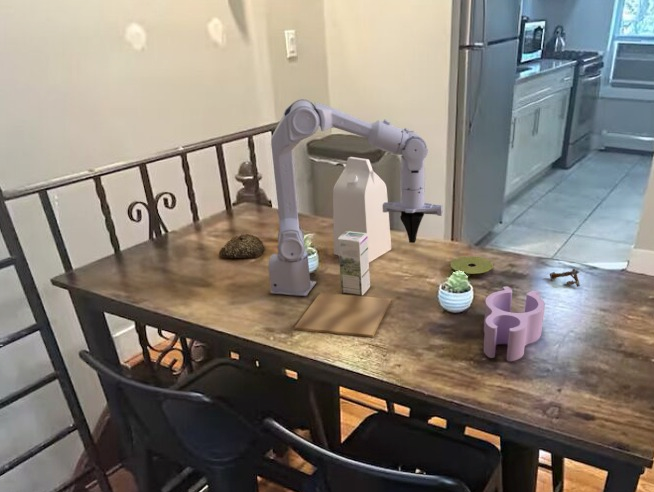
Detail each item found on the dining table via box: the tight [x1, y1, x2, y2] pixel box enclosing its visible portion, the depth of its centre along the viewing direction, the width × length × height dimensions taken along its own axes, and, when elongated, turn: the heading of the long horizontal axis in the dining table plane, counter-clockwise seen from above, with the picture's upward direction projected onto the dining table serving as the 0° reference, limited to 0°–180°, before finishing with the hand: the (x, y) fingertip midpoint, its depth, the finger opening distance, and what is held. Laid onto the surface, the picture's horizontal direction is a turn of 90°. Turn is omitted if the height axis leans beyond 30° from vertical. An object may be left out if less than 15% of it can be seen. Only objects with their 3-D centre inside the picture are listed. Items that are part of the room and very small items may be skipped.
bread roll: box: [218, 233, 265, 259], centre depth 171 cm, size 13×12×5 cm
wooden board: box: [293, 292, 392, 338], centre depth 139 cm, size 18×18×1 cm
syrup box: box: [338, 231, 371, 296], centre depth 146 cm, size 6×6×14 cm
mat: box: [450, 256, 494, 275], centre depth 158 cm, size 11×11×2 cm
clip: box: [483, 285, 546, 362], centre depth 127 cm, size 20×12×7 cm, turn 160°
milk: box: [332, 156, 392, 263], centre depth 164 cm, size 12×12×26 cm
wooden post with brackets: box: [549, 268, 581, 288], centre depth 151 cm, size 2×8×4 cm, turn 44°
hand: (412, 241), depth 149 cm, fingers closed
